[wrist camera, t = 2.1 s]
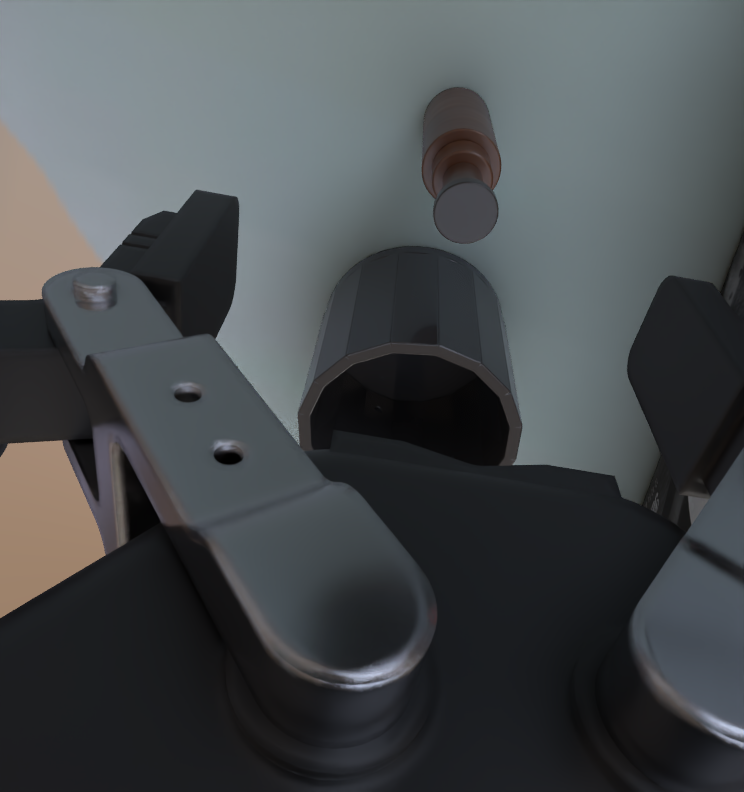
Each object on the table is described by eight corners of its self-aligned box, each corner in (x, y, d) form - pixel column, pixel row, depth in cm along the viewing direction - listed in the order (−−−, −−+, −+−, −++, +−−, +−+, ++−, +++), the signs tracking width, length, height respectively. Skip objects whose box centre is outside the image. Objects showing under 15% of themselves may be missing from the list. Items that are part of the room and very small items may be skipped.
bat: (487, 82, 27) (510, 161, 19) (491, 150, 29) (514, 250, 21) (419, 92, 27) (414, 175, 19) (427, 159, 29) (425, 261, 21)
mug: (367, 214, 31) (348, 306, 24) (537, 291, 32) (565, 398, 25) (281, 404, 37) (247, 518, 31) (425, 459, 39) (423, 579, 32)
